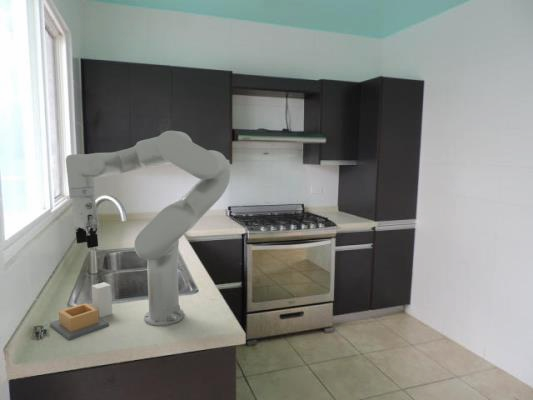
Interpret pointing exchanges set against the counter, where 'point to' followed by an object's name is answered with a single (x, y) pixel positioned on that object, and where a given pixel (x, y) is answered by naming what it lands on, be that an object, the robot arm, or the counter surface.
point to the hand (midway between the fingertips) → (87, 244)
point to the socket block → (78, 321)
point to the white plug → (102, 299)
